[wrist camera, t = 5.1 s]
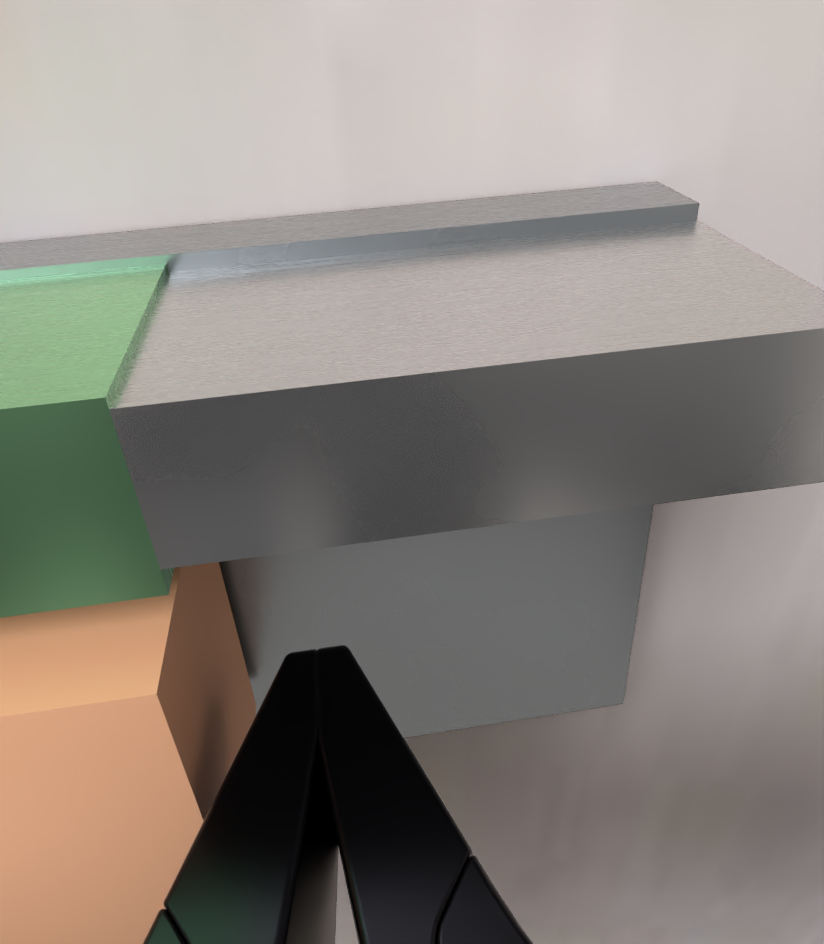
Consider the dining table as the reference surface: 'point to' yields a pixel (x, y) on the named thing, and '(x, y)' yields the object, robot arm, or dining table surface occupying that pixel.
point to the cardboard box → (113, 755)
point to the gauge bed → (399, 429)
